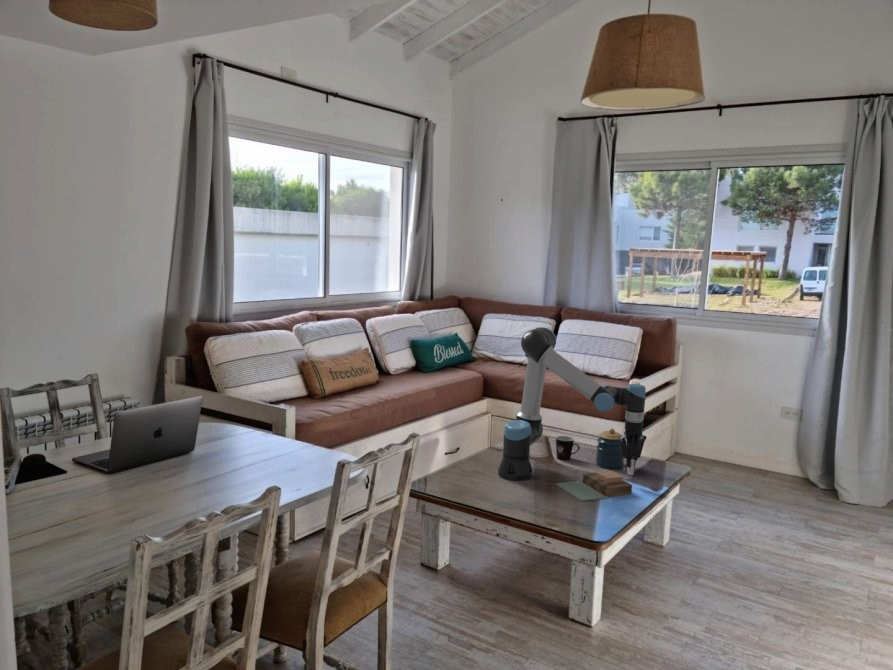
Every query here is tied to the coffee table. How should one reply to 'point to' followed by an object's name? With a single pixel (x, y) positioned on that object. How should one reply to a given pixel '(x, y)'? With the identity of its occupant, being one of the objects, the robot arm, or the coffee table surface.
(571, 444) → the coffee mug
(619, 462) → the canister
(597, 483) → the block
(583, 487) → the sage mat
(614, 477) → the terracotta tile
